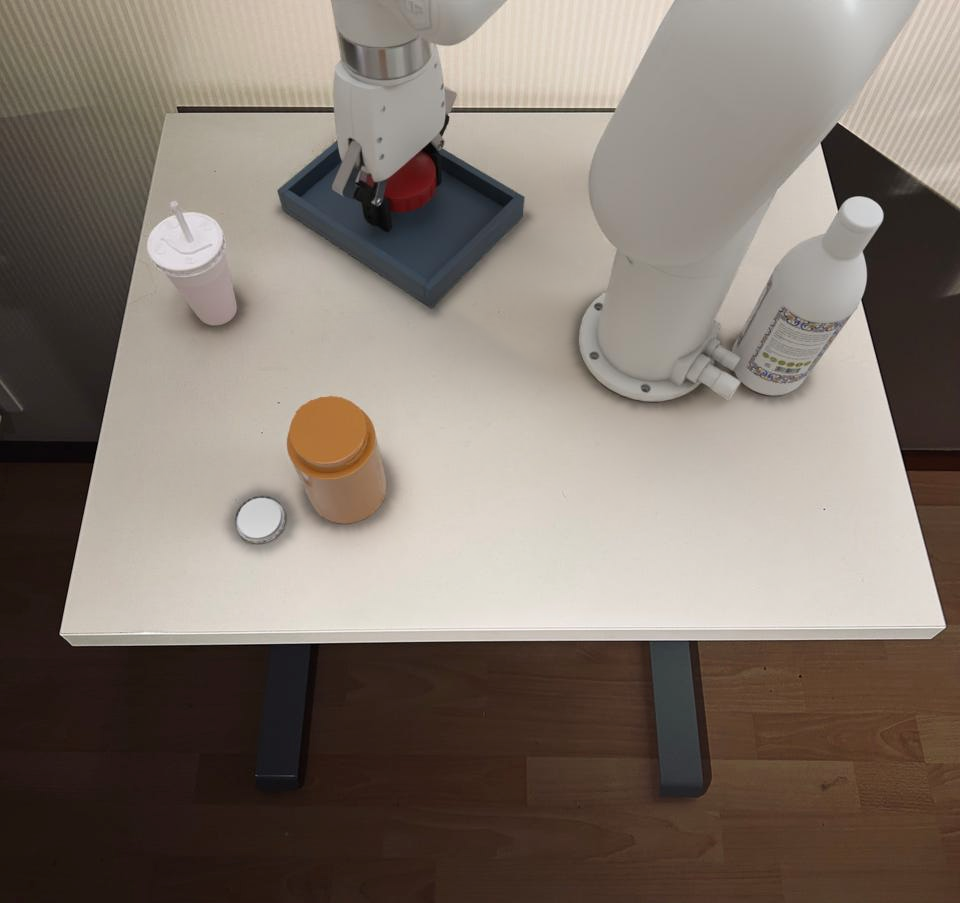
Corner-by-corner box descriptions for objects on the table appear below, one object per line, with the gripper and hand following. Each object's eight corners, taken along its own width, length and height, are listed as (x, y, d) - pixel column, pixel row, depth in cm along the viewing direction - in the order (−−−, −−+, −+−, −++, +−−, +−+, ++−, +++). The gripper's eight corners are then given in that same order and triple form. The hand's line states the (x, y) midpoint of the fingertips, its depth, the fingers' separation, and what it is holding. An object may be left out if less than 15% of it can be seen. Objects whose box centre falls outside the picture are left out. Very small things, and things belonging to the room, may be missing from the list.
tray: (523, 216, 81) (524, 196, 78) (431, 308, 76) (430, 290, 73) (377, 129, 86) (375, 108, 84) (282, 210, 81) (276, 190, 78)
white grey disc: (261, 552, 65) (259, 550, 64) (226, 524, 66) (224, 522, 65) (295, 516, 66) (293, 513, 66) (260, 489, 67) (258, 486, 67)
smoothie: (238, 343, 74) (191, 240, 61) (172, 331, 74) (112, 226, 62) (260, 288, 77) (219, 179, 64) (197, 277, 77) (144, 166, 65)
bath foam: (817, 390, 72) (932, 241, 54) (745, 404, 72) (838, 258, 54) (787, 328, 75) (887, 167, 57) (718, 341, 75) (797, 182, 57)
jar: (402, 481, 68) (391, 422, 58) (350, 539, 66) (330, 487, 56) (345, 438, 70) (325, 374, 60) (292, 493, 67) (263, 435, 58)
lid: (350, 189, 77) (347, 174, 76) (398, 149, 80) (396, 134, 78) (403, 224, 75) (402, 210, 74) (451, 182, 78) (450, 167, 76)
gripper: (419, -34, 67) (430, 135, 83) (274, 76, 61) (315, 236, 77) (489, 1, 65) (486, 168, 81) (346, 119, 59) (374, 274, 75)
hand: (403, 200), depth 79 cm, fingers closed on lid, 6 cm apart
